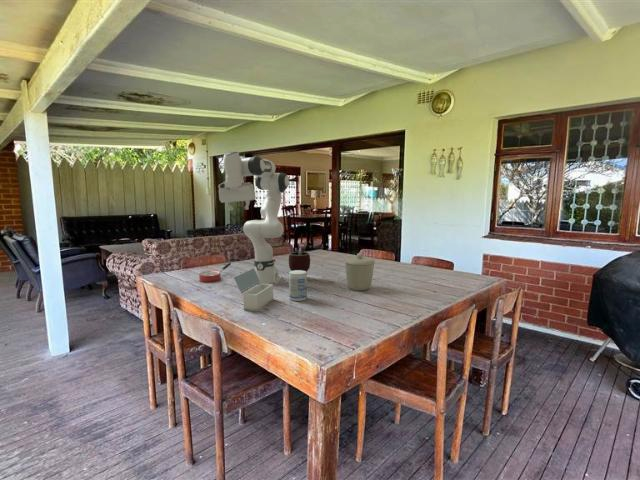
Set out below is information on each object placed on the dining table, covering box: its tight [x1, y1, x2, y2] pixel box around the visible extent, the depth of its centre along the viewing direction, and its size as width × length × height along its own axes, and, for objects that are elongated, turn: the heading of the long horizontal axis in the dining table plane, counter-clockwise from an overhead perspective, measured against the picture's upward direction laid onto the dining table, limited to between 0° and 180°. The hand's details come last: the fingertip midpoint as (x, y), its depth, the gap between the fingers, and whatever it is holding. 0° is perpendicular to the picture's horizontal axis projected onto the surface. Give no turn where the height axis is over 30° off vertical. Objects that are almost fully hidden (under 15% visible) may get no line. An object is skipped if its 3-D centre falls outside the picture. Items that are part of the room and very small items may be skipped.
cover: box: [233, 267, 260, 295], centre depth 183 cm, size 20×9×1 cm
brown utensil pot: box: [288, 246, 311, 282], centre depth 233 cm, size 16×14×20 cm
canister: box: [343, 252, 376, 292], centre depth 211 cm, size 18×18×21 cm
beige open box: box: [242, 284, 274, 312], centre depth 182 cm, size 20×7×8 cm, turn 164°
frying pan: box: [198, 262, 232, 283], centre depth 241 cm, size 32×13×6 cm, turn 170°
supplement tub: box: [288, 270, 308, 302], centre depth 191 cm, size 10×10×15 cm
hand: (239, 210), depth 190 cm, fingers open, 8 cm apart
